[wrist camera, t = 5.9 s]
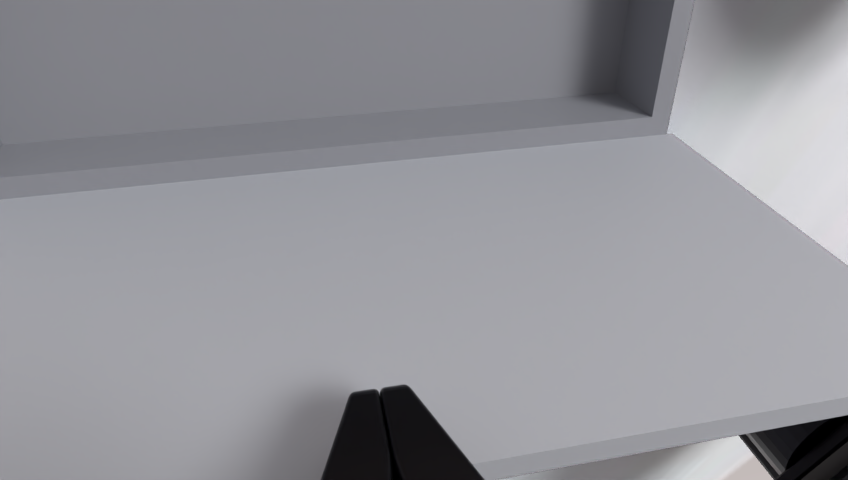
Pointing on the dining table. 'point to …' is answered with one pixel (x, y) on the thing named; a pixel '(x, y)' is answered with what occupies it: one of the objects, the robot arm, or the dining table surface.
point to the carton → (317, 83)
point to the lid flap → (411, 314)
